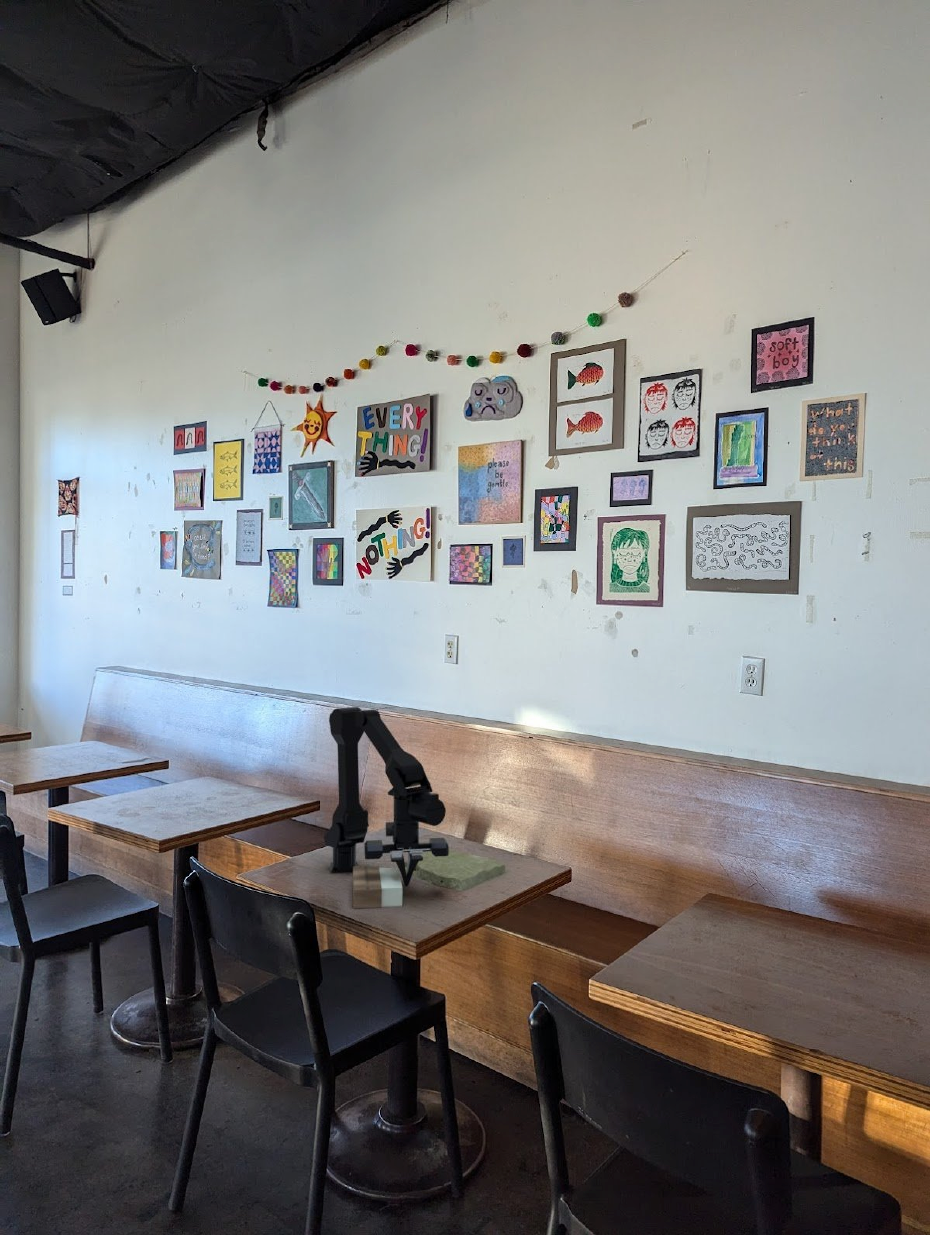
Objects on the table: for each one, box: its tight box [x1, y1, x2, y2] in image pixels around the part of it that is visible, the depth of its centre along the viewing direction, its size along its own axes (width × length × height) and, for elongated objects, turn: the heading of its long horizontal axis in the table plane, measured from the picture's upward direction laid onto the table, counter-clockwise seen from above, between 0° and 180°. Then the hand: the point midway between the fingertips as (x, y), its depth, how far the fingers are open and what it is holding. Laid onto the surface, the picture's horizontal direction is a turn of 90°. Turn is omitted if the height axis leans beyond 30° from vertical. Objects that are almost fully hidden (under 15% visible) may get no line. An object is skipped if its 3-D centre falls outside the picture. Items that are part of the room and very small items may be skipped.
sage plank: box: [379, 867, 403, 908], centre depth 193 cm, size 14×4×4 cm, turn 8°
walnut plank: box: [352, 865, 382, 909], centre depth 193 cm, size 16×6×4 cm, turn 8°
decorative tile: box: [404, 848, 507, 892], centre depth 209 cm, size 19×20×4 cm
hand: (406, 886), depth 194 cm, fingers closed
